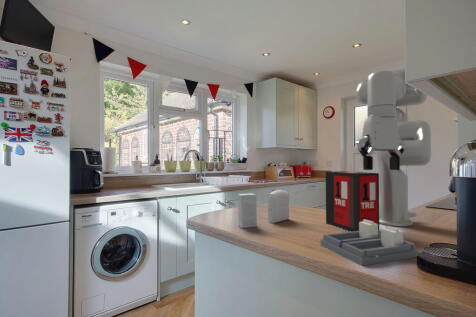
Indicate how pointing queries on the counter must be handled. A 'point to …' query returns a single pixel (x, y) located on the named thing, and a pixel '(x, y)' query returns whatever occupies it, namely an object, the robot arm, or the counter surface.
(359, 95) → the robot arm
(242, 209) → the skincare box
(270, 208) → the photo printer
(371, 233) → the tab
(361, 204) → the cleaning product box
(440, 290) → the counter surface
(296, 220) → the counter surface
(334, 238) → the switch board
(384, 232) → the tab
